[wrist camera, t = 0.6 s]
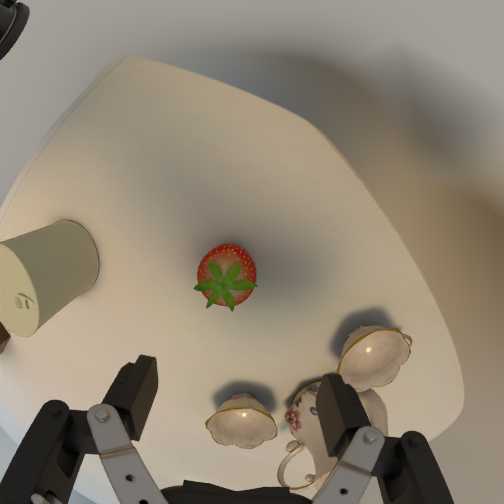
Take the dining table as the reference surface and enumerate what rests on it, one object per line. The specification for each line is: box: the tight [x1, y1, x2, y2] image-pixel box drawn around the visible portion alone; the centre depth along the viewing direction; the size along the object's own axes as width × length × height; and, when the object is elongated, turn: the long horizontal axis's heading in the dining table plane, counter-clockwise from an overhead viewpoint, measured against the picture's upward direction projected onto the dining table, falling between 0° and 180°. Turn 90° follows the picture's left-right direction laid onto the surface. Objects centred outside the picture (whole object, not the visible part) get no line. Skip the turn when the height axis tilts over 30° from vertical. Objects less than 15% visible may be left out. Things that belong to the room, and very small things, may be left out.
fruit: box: [194, 244, 258, 312], centre depth 24 cm, size 5×5×8 cm
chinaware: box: [205, 326, 412, 492], centre depth 26 cm, size 28×17×17 cm, turn 130°
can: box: [0, 220, 99, 337], centre depth 22 cm, size 9×9×12 cm
